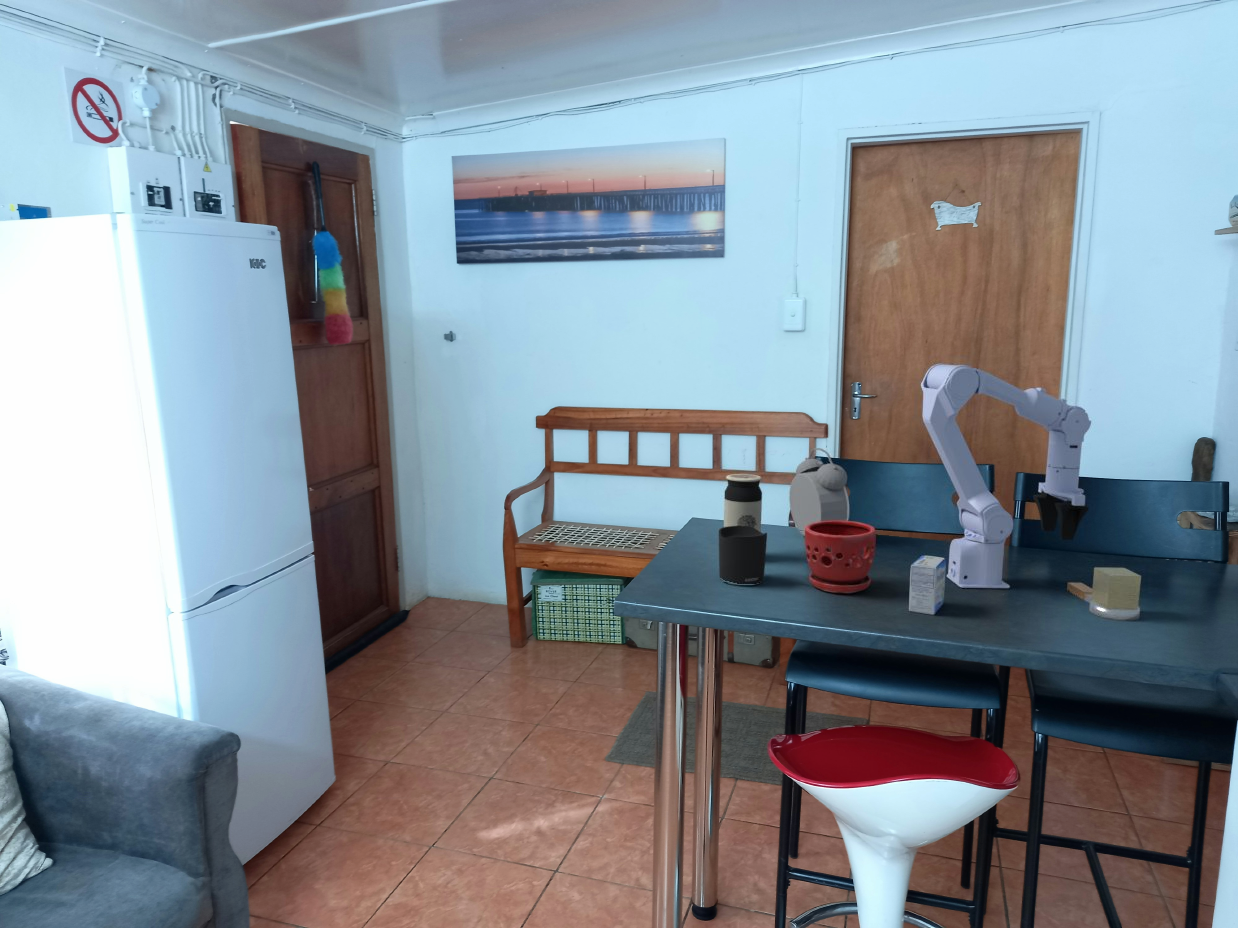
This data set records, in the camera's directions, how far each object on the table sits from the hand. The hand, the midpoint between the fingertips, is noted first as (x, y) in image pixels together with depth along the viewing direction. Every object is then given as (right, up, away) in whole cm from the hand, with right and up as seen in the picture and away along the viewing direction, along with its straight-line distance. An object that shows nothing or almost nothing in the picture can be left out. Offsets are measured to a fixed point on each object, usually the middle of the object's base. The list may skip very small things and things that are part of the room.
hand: (1057, 534), depth 168 cm
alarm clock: (-39, -4, +35) cm, 53 cm away
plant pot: (-44, -10, -4) cm, 45 cm away
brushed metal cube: (0, -11, -19) cm, 21 cm away
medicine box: (-31, -12, -16) cm, 37 cm away
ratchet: (+1, -12, -13) cm, 18 cm away
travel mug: (-60, -7, +18) cm, 63 cm away
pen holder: (-62, -9, +1) cm, 63 cm away
